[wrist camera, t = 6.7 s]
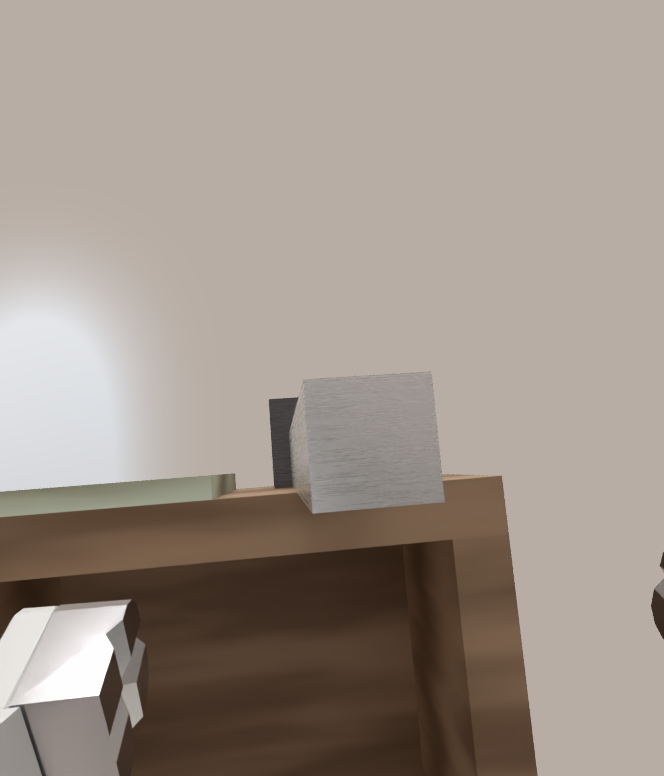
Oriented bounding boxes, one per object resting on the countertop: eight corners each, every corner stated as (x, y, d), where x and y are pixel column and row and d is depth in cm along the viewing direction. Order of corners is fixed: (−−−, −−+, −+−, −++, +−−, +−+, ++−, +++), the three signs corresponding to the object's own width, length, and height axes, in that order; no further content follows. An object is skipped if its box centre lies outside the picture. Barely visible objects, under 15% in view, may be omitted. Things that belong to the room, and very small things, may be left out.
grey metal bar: (487, 498, 10) (463, 287, 11) (267, 517, 10) (253, 296, 10) (347, 479, 31) (341, 408, 31) (275, 485, 30) (270, 412, 31)
